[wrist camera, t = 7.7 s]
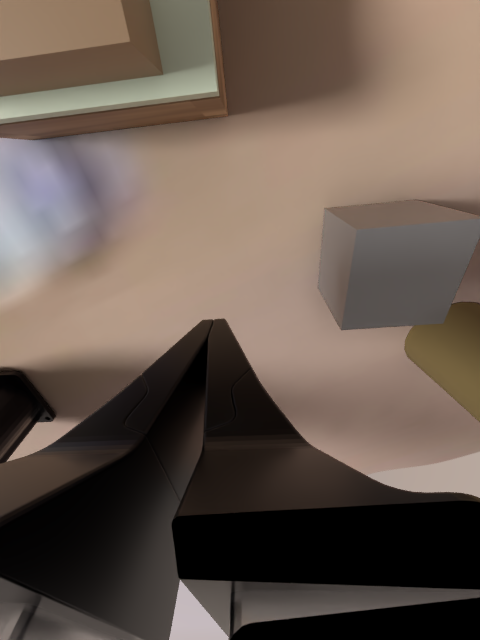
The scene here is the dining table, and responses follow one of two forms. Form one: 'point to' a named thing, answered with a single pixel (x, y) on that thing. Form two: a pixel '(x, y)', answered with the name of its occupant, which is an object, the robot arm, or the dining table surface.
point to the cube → (394, 262)
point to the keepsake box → (130, 109)
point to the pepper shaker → (451, 353)
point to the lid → (102, 55)
